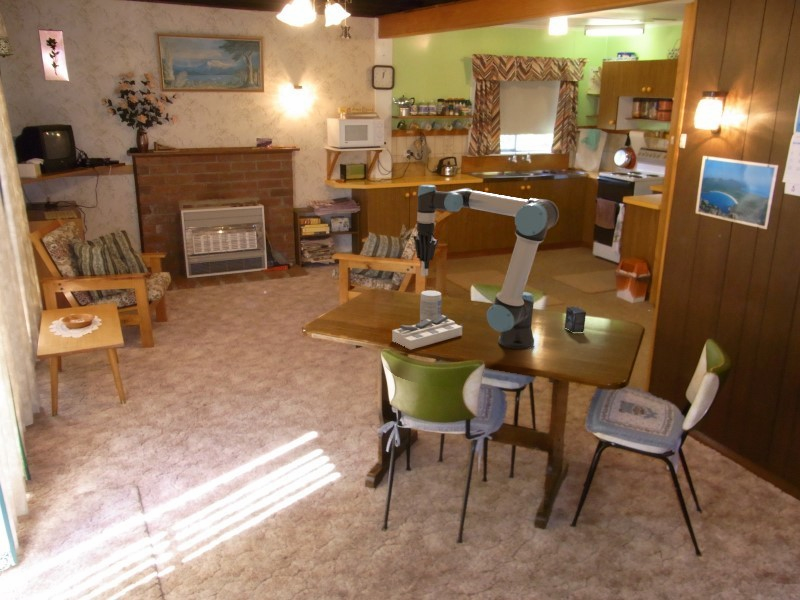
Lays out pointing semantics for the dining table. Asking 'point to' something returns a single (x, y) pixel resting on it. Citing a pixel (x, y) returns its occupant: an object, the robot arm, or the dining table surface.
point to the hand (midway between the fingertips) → (424, 275)
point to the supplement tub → (430, 305)
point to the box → (575, 319)
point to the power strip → (427, 334)
